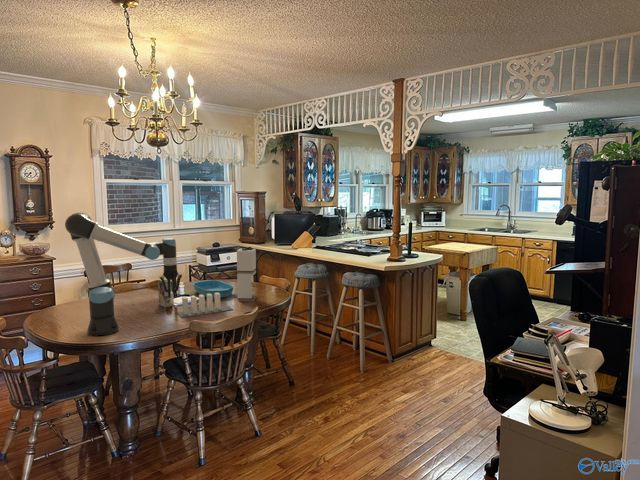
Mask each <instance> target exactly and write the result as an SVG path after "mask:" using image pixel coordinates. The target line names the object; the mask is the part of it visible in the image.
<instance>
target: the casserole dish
mask: <svg viewBox="0 0 640 480" xmlns="http://www.w3.org/2000/svg"><path fill="white" fill-rule="evenodd" d="M192 286H193V288H194V290H195V292H196V293H198V295H204V297H205V298H207V294H212V297H213V300H215V296H214V293H217V292H218V293H219V294H220V299H221V298H226V297H230V296H231V295H233V292H234V289H235V286H234V285H233V284H230V283H228V282H225V281H222V280H217V279H210V280H209V279H208V280H207V279H206V280H200V281H197V282H193V283H192Z"/></svg>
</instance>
